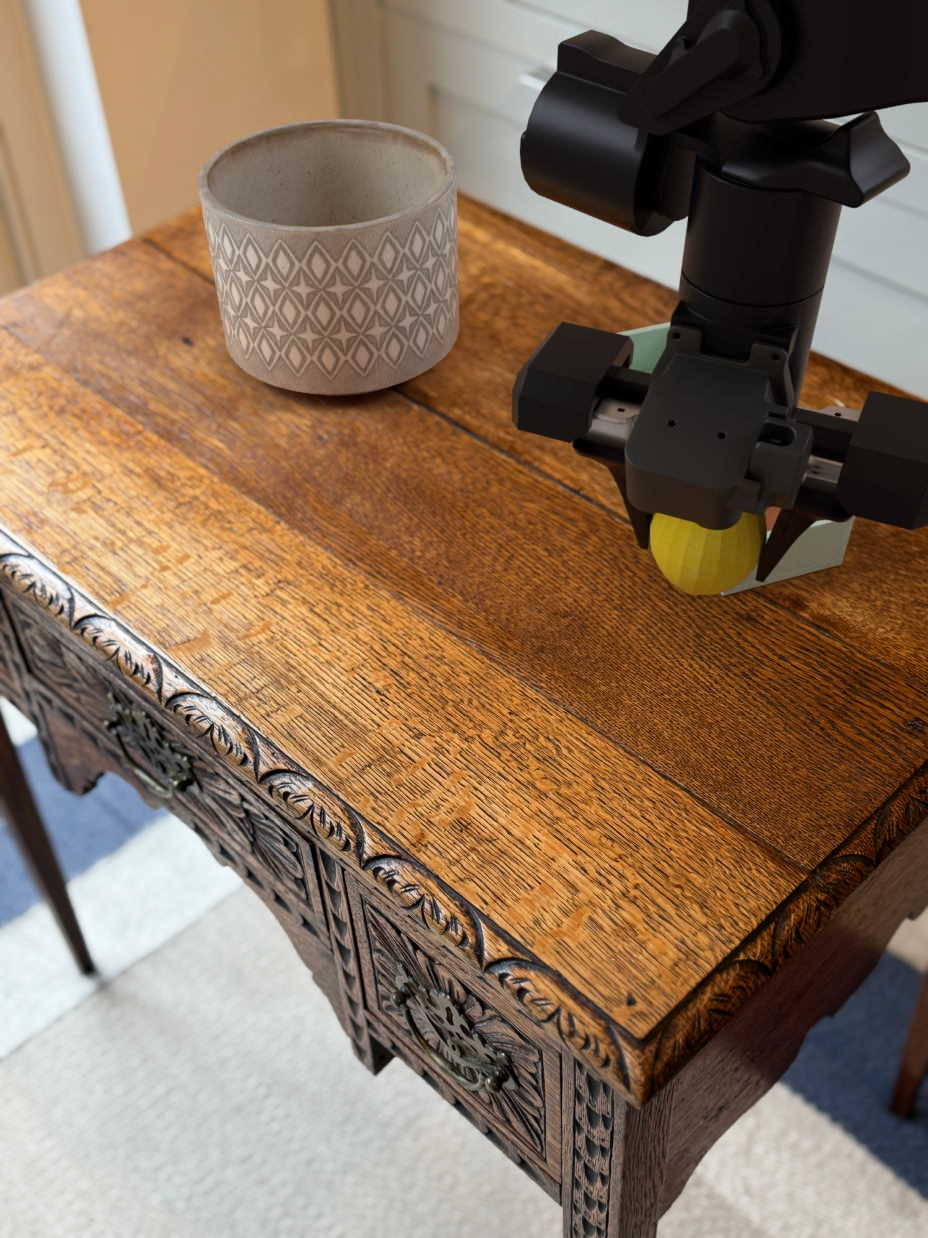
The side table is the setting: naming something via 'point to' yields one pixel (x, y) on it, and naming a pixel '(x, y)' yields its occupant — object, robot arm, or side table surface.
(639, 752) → the side table surface
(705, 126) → the robot arm
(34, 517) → the side table surface
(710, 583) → the fruit
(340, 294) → the planter
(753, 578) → the compartment tray
